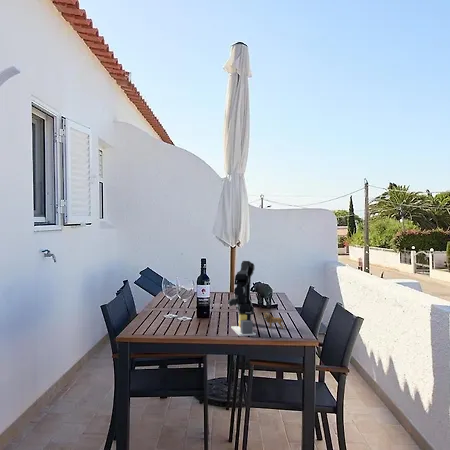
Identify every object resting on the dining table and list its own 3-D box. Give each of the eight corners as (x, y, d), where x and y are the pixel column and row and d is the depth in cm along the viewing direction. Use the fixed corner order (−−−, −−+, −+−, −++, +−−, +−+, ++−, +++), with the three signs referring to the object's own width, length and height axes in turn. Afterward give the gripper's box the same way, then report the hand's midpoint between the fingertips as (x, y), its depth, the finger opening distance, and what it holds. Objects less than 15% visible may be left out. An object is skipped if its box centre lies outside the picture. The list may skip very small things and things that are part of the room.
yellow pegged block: (238, 326, 288) (238, 314, 288) (245, 326, 289) (245, 313, 289) (240, 327, 284) (240, 315, 284) (247, 327, 285) (247, 315, 285)
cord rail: (231, 328, 296) (231, 315, 296) (246, 327, 298) (246, 314, 298) (239, 335, 274) (239, 322, 274) (255, 335, 276) (256, 321, 276)
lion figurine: (262, 327, 298) (262, 313, 298) (264, 326, 303) (264, 311, 303) (285, 329, 293) (285, 314, 293) (287, 327, 298) (287, 313, 298)
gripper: (225, 291, 298) (225, 316, 298) (231, 295, 280) (231, 322, 280) (243, 291, 301) (242, 316, 300) (250, 295, 282) (249, 321, 282)
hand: (241, 319), depth 291 cm, fingers closed
